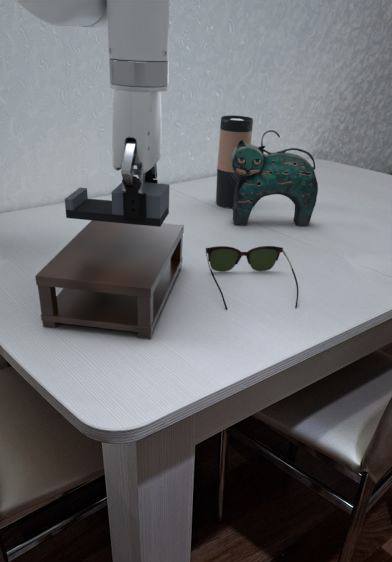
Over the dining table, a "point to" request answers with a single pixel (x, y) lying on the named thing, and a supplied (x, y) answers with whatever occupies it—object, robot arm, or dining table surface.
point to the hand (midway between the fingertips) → (141, 211)
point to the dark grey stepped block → (119, 205)
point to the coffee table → (112, 277)
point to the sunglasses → (256, 257)
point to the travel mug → (230, 155)
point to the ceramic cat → (273, 180)
